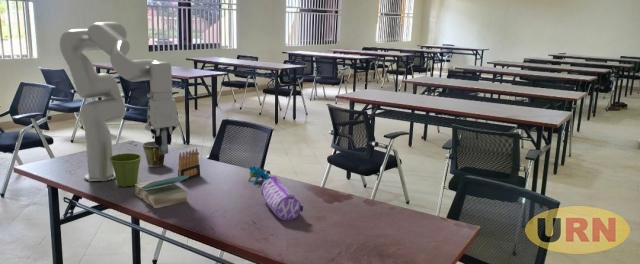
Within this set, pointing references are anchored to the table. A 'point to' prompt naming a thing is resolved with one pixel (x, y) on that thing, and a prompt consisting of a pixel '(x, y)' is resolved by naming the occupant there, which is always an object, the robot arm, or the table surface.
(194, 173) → the ammunition clip
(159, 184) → the teal square plate
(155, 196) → the block
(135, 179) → the plant pot
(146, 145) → the ceramic cup
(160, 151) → the steel pin
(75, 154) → the table surface
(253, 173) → the gear
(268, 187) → the pencil case
